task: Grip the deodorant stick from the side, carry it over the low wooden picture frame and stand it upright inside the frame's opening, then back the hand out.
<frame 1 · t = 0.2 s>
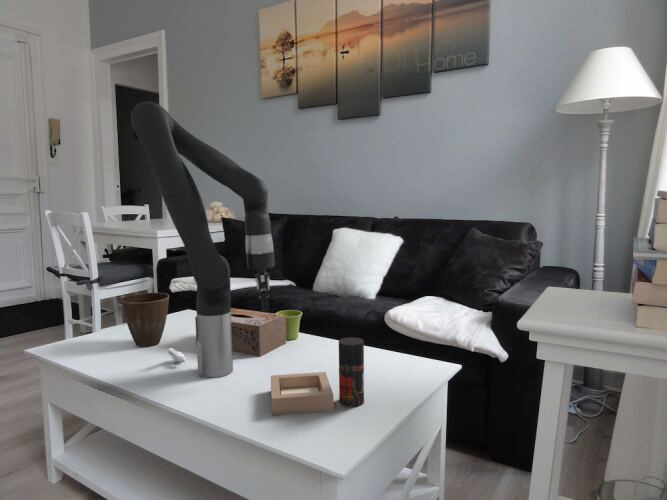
hand: (264, 307, 137), 18 cm above the table, tool pointing down, fingers open, 8 cm apart
rabbit figurine: (177, 365, 144), on the table
plant pot 2: (289, 338, 169), on the table
plant pot: (148, 344, 164), on the table
tissue box cover: (241, 345, 162), on the table
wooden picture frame: (300, 400, 118), on the table
deodorant: (351, 402, 117), on the table
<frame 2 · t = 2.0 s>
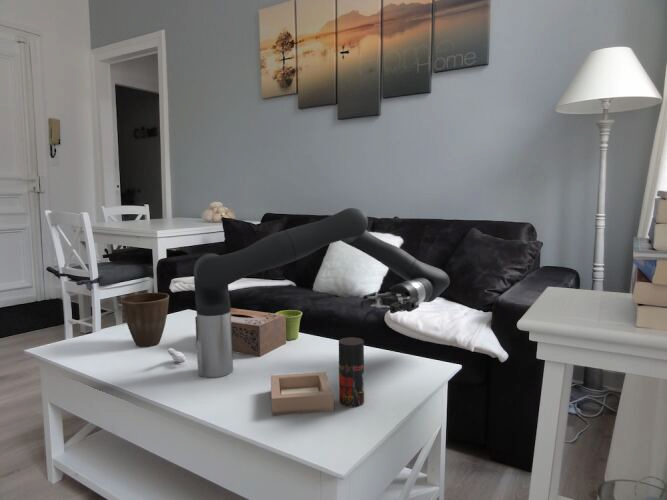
hand: (376, 307, 123), 21 cm above the table, tool horizontal, fingers open, 8 cm apart
nothing on the table moved.
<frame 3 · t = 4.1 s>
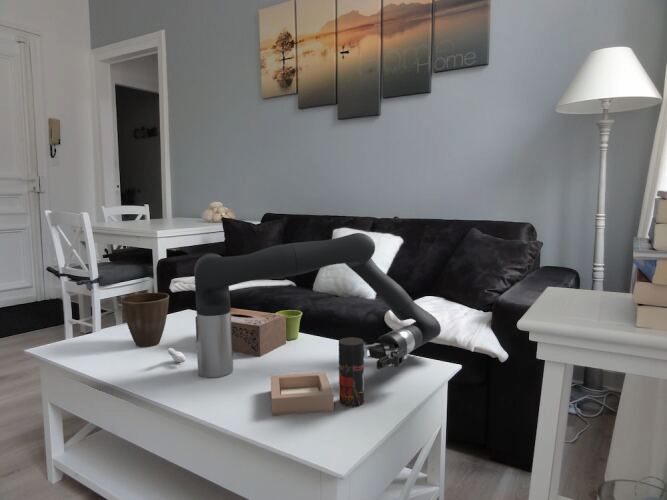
hand: (363, 361, 120), 8 cm above the table, tool horizontal, fingers open, 8 cm apart
nothing on the table moved.
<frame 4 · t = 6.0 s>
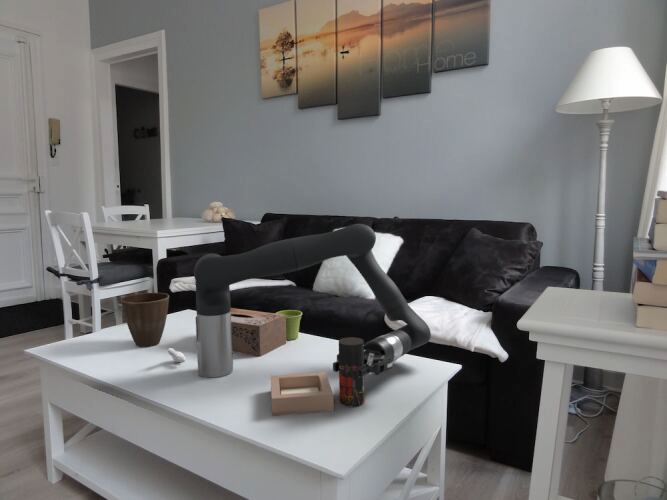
hand: (345, 370, 114), 9 cm above the table, tool horizontal, fingers closed on deodorant, 6 cm apart
deodorant: (351, 402, 117), on the table, touching gripper
everything else where it was.
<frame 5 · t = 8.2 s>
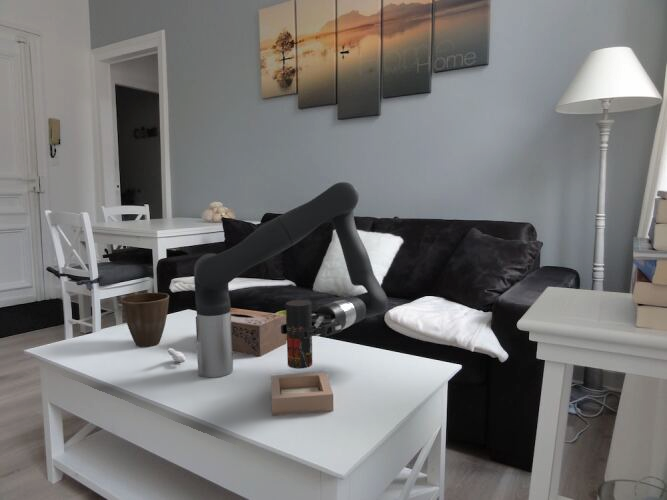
hand: (292, 332, 114), 18 cm above the table, tool horizontal, fingers closed on deodorant, 6 cm apart
deodorant: (300, 364, 117), point 9 cm above the table, touching gripper
everything else where it was.
when the fingers open (10 cm above the table, at t = 10.5 s): deodorant stays where it is, resting on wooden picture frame.
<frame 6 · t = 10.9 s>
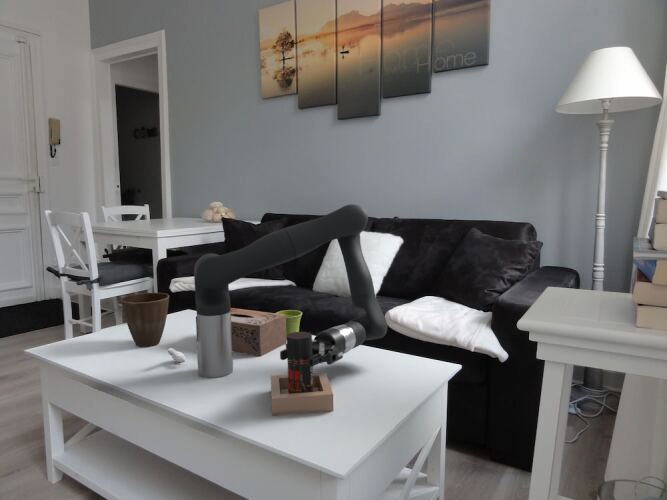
hand: (294, 359, 116), 11 cm above the table, tool horizontal, fingers open, 8 cm apart
deodorant: (301, 396, 118), point 1 cm above the table, touching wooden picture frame
everything else where it was.
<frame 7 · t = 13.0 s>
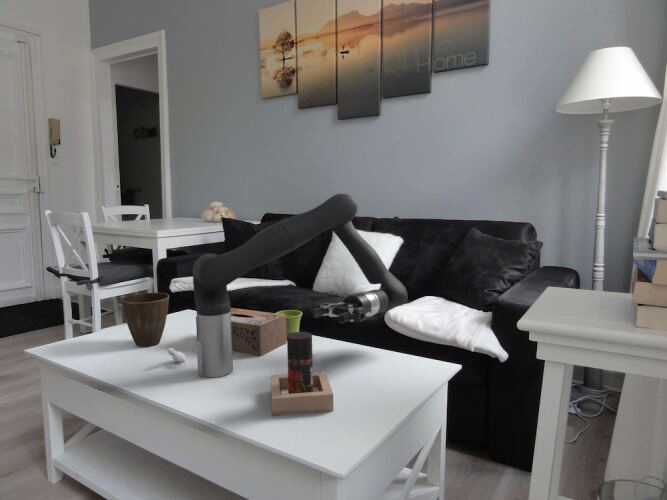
hand: (326, 316, 127), 18 cm above the table, tool horizontal, fingers open, 8 cm apart
nothing on the table moved.
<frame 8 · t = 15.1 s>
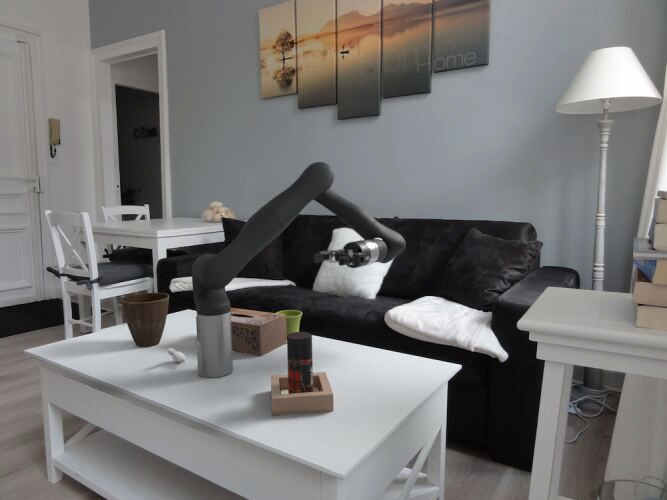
hand: (326, 260, 129), 32 cm above the table, tool horizontal, fingers open, 8 cm apart
nothing on the table moved.
at the end: deodorant inside the target area on the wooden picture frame (0.1 cm from its centre), point 0.9 cm above the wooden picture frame's base; deodorant tilted 0°; the gripper is holding nothing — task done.
